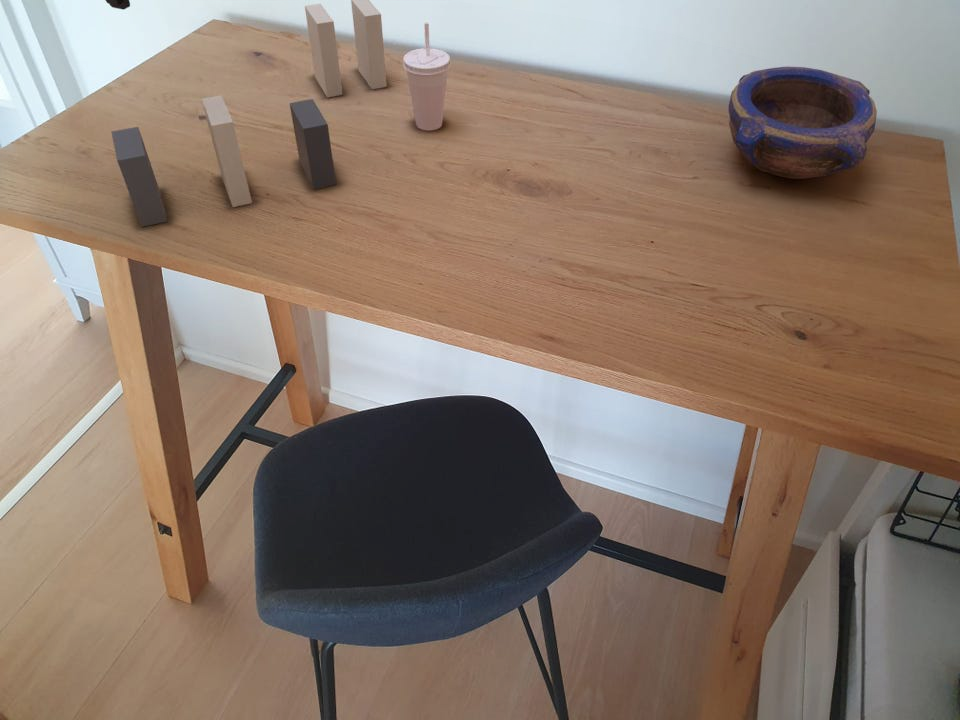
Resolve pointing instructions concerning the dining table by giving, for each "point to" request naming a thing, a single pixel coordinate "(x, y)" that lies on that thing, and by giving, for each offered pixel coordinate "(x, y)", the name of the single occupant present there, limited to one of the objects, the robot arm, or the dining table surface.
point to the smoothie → (427, 83)
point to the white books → (366, 46)
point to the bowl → (801, 121)
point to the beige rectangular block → (227, 150)
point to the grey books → (144, 185)
